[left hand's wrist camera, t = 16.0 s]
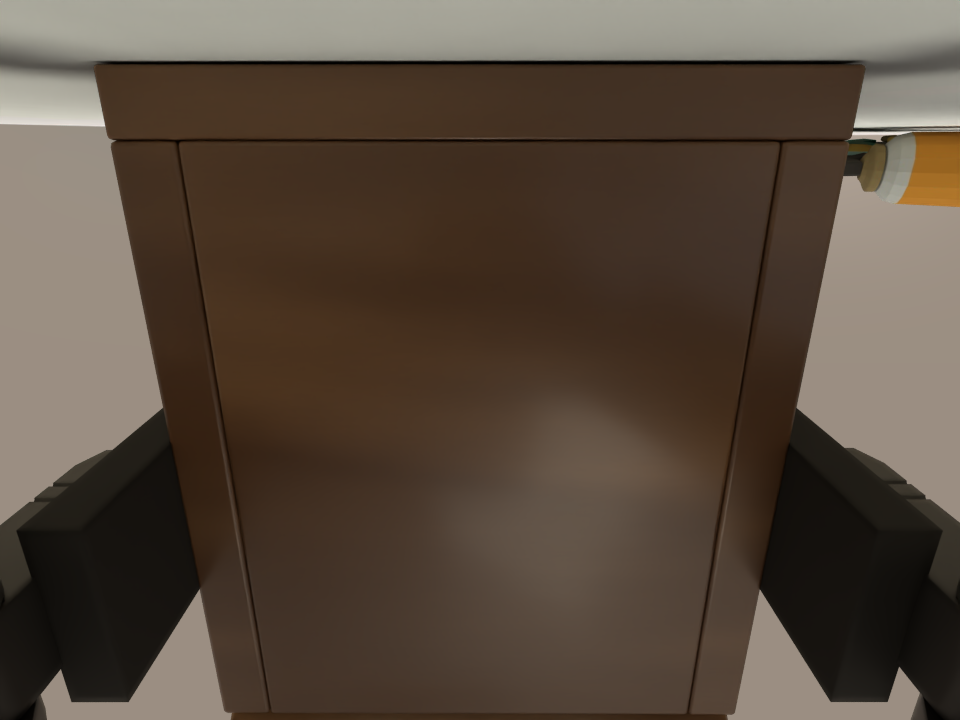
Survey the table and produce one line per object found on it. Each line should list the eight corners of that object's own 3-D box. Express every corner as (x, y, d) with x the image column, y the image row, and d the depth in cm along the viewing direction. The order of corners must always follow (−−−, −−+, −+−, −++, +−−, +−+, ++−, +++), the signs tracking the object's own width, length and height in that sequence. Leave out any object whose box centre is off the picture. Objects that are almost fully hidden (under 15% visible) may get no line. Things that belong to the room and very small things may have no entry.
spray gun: (1052, 122, 40) (813, 120, 50) (1048, 136, 29) (740, 130, 38) (1029, 186, 42) (803, 172, 51) (1017, 223, 31) (730, 197, 40)
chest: (597, 121, 24) (581, 369, 27) (364, 121, 24) (380, 369, 27) (867, 64, 7) (736, 716, 11) (90, 63, 7) (223, 715, 11)
